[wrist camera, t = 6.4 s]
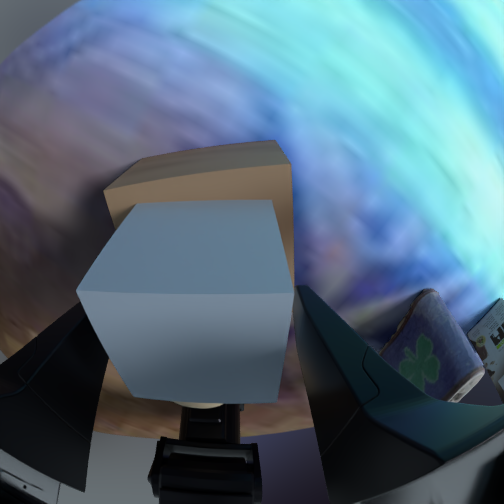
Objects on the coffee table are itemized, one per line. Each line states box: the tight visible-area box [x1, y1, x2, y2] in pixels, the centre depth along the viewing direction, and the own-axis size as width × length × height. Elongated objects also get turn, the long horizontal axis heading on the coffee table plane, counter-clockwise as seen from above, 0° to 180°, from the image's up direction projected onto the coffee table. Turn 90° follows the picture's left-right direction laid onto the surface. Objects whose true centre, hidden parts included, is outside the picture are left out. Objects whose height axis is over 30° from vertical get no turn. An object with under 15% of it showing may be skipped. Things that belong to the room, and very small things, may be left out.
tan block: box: [103, 140, 294, 312], centre depth 13 cm, size 7×7×5 cm
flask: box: [379, 289, 485, 403], centre depth 17 cm, size 9×3×11 cm, turn 170°
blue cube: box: [76, 200, 294, 404], centre depth 9 cm, size 5×5×5 cm
